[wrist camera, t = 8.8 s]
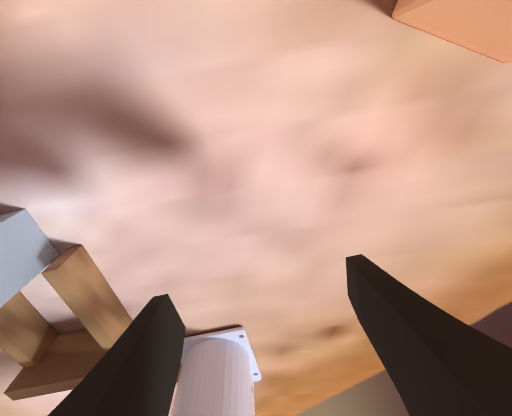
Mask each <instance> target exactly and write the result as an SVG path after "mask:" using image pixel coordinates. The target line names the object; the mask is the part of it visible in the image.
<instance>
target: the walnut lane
mask: <svg viewBox="0 0 512 416" xmlns="http://www.w3.org/2000/svg"><path fill="white" fill-rule="evenodd" d="M41 274H42V275H43V276H44V277H45V278H46V280H47V281H48V282H49V283H50V285H51V286H52V287H53V288H54V289H55V291H56V292H57V293H58V294H59V296H60V297H61V298H62V299H63V300H64V302H65V303H66V304H67V305H68V307H69V308H70V309H71V310H72V311H73V313H74V314H75V315H76V316H77V318H78V319H79V320H80V321H81V323H82V324H83V325H84V326H85V327H86V329H85V330H80V331H75V332H70V333H65V334H60V335H59V334H58V333H57V332H56V331H55V330H54V329H53V328H52V327H51V326H50V324H49V323H48V322H47V321H46V320H45V319H44V318H43V317H42V316H41V315H40V313H39V312H38V311H37V310H36V309H35V308H34V307H33V306H32V305H31V304H30V303H29V301H28V300H27V299H26V298H25V297H24V296H23V295H22V294H21V293H20V292H17V293H16V294H15V295H14V296H13V297H12V298H11V299H10V300H9V301H7V302H6V303H5V304H4V305H3V306H2V307H1V308H0V347H1V348H2V349H3V350H4V351H5V352H6V353H7V354H9V355H10V356H11V357H12V358H13V359H14V360H15V361H16V362H18V363H19V364H20V365H21V366H22V367H23V369H22V370H21V372H20V373H19V374H18V375H17V377H16V378H15V379H14V380H13V382H12V383H11V384H10V386H9V387H8V388H7V389H6V391H5V392H4V394H5V395H7V396H8V397H9V398H11V399H12V400H19V399H24V398H29V397H35V396H40V395H45V394H50V393H56V392H61V391H66V390H72V389H74V388H75V387H76V386H77V385H78V384H79V383H80V382H81V381H82V380H83V379H84V377H85V376H86V375H87V374H88V373H89V372H90V371H91V370H92V368H93V367H94V366H95V365H96V364H97V363H98V362H99V361H100V359H101V358H102V357H103V356H104V355H105V354H106V353H107V352H108V350H109V349H110V348H111V347H112V346H113V344H114V343H115V342H116V341H117V340H118V338H119V337H120V336H121V335H122V334H123V333H124V331H125V330H126V329H127V328H128V327H129V325H130V324H131V323H132V322H133V320H132V319H131V317H130V316H129V314H128V313H127V311H126V310H125V308H124V307H123V305H122V304H121V302H120V301H119V299H118V298H117V296H116V295H115V293H114V292H113V290H112V289H111V287H110V286H109V284H108V283H107V281H106V280H105V278H104V277H103V275H102V274H101V272H100V271H99V269H98V268H97V266H96V265H95V263H94V262H93V260H92V259H91V257H90V256H89V254H88V253H87V251H86V250H85V248H84V247H83V245H80V246H76V247H71V248H68V249H67V250H66V251H65V252H64V253H63V254H61V255H60V256H59V257H58V258H57V259H56V260H55V261H54V262H53V263H52V264H50V265H49V266H48V267H47V268H46V269H45V270H44V271H43V272H42V273H41Z"/></svg>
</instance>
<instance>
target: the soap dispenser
mask: <svg viewBox="0 0 512 416" xmlns="http://www.w3.org/2000/svg"><path fill="white" fill-rule="evenodd" d="M392 17H393V19H395V20H398V21H400V22H403V23H405V24H408V25H410V26H413V27H415V28H418V29H420V30H423V31H425V32H428V33H430V34H433V35H436V36H438V37H441V38H443V39H446V40H448V41H451V42H453V43H456V44H458V45H461V46H463V47H466V48H468V49H471V50H473V51H476V52H478V53H481V54H483V55H486V56H488V57H491V58H493V59H496V60H498V61H501V62H503V63H509V62H512V0H398V1H397V4H396V6H395V8H394V11H393V13H392Z"/></svg>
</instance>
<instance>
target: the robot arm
mask: <svg viewBox="0 0 512 416" xmlns="http://www.w3.org/2000/svg"><path fill="white" fill-rule="evenodd" d="M346 270H347V288H348V296H349V299H350V301H351V304H352V306H353V309H354V311H355V313H356V315H357V318H358V320H359V322H360V324H361V326H362V327H363V329H364V331H365V333H366V335H367V336H368V338H369V340H370V342H371V344H372V345H373V347H374V349H375V351H376V352H377V354H378V356H379V358H380V360H381V361H382V363H383V365H384V367H385V368H386V370H387V372H388V374H389V376H390V377H391V379H392V381H393V383H394V385H395V387H396V389H397V390H398V392H399V394H400V396H401V398H402V400H403V402H404V405H405V407H406V409H407V411H408V413H409V415H410V416H512V348H510V347H508V346H506V345H504V344H502V343H500V342H498V341H496V340H494V339H492V338H490V337H489V336H487V335H485V334H483V333H481V332H480V331H478V330H476V329H474V328H472V327H471V326H469V325H467V324H465V323H463V322H462V321H460V320H458V319H456V318H455V317H453V316H451V315H450V314H448V313H446V312H445V311H443V310H442V309H440V308H438V307H437V306H435V305H434V304H432V303H430V302H429V301H427V300H426V299H424V298H423V297H421V296H420V295H418V294H417V293H415V292H414V291H412V290H411V289H409V288H408V287H406V286H405V285H403V284H402V283H401V282H399V281H398V280H396V279H395V278H393V277H392V276H391V275H389V274H388V273H387V272H385V271H384V270H382V269H381V268H380V267H378V266H377V265H376V264H374V263H373V262H372V261H370V260H369V259H367V258H366V257H365V256H363V255H362V254H361V255H356V256H351V257H346ZM184 336H185V326H184V324H183V322H182V320H181V318H180V316H179V314H178V312H177V310H176V309H175V307H174V305H173V303H172V301H171V299H170V297H169V295H168V294H165V295H160V296H155V297H153V298H152V299H151V300H150V301H149V302H148V304H147V305H146V306H145V307H144V308H143V309H142V311H141V312H140V313H139V314H138V316H137V317H136V318H135V319H134V320H133V322H132V323H131V324H130V325H129V327H128V328H127V329H126V330H125V331H124V333H123V334H122V335H121V336H120V337H119V338H118V340H117V341H116V342H115V343H114V344H113V346H112V347H111V348H110V349H109V350H108V352H107V353H106V354H105V355H104V356H103V357H102V358H101V359H100V361H99V362H98V363H97V364H96V365H95V366H94V367H93V368H92V370H91V371H90V372H89V373H88V374H87V375H86V376H85V377H84V379H83V380H82V381H81V382H80V383H79V384H78V385H77V386H76V387H75V388H74V389H73V390H72V391H71V392H70V394H69V395H68V396H67V397H66V398H65V399H64V400H63V401H62V402H61V403H60V404H59V405H58V406H57V407H56V408H55V409H54V410H53V411H52V412H51V413H50V414H49V415H48V416H168V414H169V410H170V405H171V401H172V397H173V393H174V388H175V384H176V380H177V376H178V371H179V367H180V363H181V365H182V367H181V372H180V376H179V381H178V386H177V390H176V395H175V399H174V404H173V409H172V413H171V416H255V407H254V382H256V381H260V380H261V373H260V370H259V367H258V365H257V362H256V359H255V356H254V354H253V351H252V348H251V345H250V343H249V340H248V337H247V334H246V331H245V329H244V328H243V327H237V328H232V329H227V330H222V331H217V332H212V333H206V334H201V335H196V336H191V337H186V338H184Z"/></svg>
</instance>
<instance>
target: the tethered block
mask: <svg viewBox="0 0 512 416" xmlns="http://www.w3.org/2000/svg"><path fill="white" fill-rule="evenodd" d="M58 255H59V253H58V252H57V251H56V249H55V248H54V247H53V245H52V244H51V242H50V241H49V240H48V238H47V237H46V236H45V234H44V233H43V232H42V230H41V229H40V228H39V226H38V225H37V224H36V222H35V221H34V220H33V218H32V217H31V215H30V214H29V213H28V211H27V210H26V209H23V210H18V211H14V212H10V213H5V214H1V215H0V308H1V307H2V306H3V305H4V304H5V303H6V302H7V301H9V300H10V299H11V298H12V297H13V296H14V295H15V294H16V293H17V292H19V291H20V290H21V289H22V288H23V287H24V286H25V285H26V284H27V283H28V282H30V281H31V280H32V279H33V278H34V277H35V276H36V275H37V274H38V273H40V272H41V271H42V270H43V269H44V268H45V267H46V266H47V265H48V264H49V263H51V262H52V261H53V260H54V259H55V258H56V257H57V256H58Z"/></svg>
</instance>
